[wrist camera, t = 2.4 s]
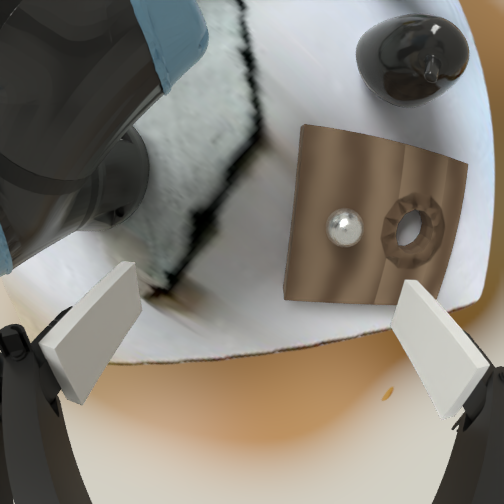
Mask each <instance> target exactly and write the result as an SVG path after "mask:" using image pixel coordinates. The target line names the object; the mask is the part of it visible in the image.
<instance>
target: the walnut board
mask: <svg viewBox="0 0 504 504" xmlns="http://www.w3.org/2000/svg"><path fill="white" fill-rule="evenodd" d="M467 170H468V164H466V163H464V162H461V161H458V160H455V159H453V158H450V157H447V156H444V155H441V154H438V153H435V152H431V151H428V150H425V149H421V148H418V147H414V146H411V145H407V144H404V143H400V142H396V141H392V140H388V139H384V138H379V137H375V136H370V135H366V134H361V133H356V132H350V131H345V130H339V129H334V128H327V127H321V126H314V125H307V124H304V125H302V126H301V130H300V142H299V153H298V164H297V175H296V185H295V194H294V204H293V213H292V222H291V230H290V239H289V247H288V255H287V263H286V270H285V278H284V285H283V292H284V300H293V301H309V302H326V303H347V304H375V305H397V304H398V301H399V297H400V294H401V291H402V288H403V284H404V281H405V280H417V281H418V282H419V283H420V284H421V285H422V286H423V287H424V288H425V289H426V290H427V291H428V292H429V293H430V294H431V295H432V296H433V298H434V299H435V300H436V299H437V296H438V293H439V290H440V287H441V284H442V281H443V278H444V275H445V272H446V269H447V266H448V262H449V259H450V255H451V252H452V248H453V244H454V240H455V236H456V232H457V228H458V223H459V219H460V214H461V209H462V203H463V198H464V192H465V185H466V178H467ZM341 208H348V209H351V210H353V211H355V212H357V213H358V214H359V216H360V217H361V219H362V221H363V224H364V232H363V235H362V237H361V239H360V240H359V242H358V243H356V244H355V245H353V246H351V247H340V246H337V245H335V244H334V243H332V242H331V240H330V239H329V238H328V236H327V233H326V222H327V219H328V217H329V216H330V215H331V214H332V213H333V212H334V211H336V210H338V209H341ZM415 209H416V210H418V211H419V213H420V216H421V220H422V225H421V230H420V234H419V235H418V236H417V238H416V239H415V240H414V242H412V243H410V244H408V245H406V246H400V245H398V243H397V240H396V231H397V226H398V223H399V222H400V220H401V219H402V218H403V216H404V215H405V214H406V213H408V212H411V211H413V210H415Z"/></svg>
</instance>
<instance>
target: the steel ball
mask: <svg viewBox="0 0 504 504" xmlns="http://www.w3.org/2000/svg"><path fill="white" fill-rule="evenodd" d="M363 232H364V224H363V221H362V219H361V217H360V216H359V214H358V213H357V212H355V211H353V210H351V209H348V208H341V209H338V210H336V211H334V212H333V213H332V214H331V215H330V216H329V217H328V219H327V222H326V233H327V236H328V238H329V239H330V240H331V242H332V243H334V244H335V245H337V246H340V247H351V246H353V245H355V244H356V243H358V242H359V240H360V239H361V237H362V235H363Z"/></svg>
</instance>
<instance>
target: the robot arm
mask: <svg viewBox="0 0 504 504" xmlns="http://www.w3.org/2000/svg"><path fill="white" fill-rule="evenodd" d="M208 40H209V36H208V29H207V26H206V22H205V19H204V17H203V14H202V12H201V10H200V8H199V5H198V4H197V2H196V0H0V277H1V276H3V275H5V274H10V273H11V272H12V270H13V269H14V268H15V267H17V266H19V265H20V264H22V263H23V262H25V261H26V260H28V259H29V258H31V257H33V256H34V255H36V254H37V253H39V252H41V251H42V250H44V249H46V248H47V247H49V246H51V245H52V244H54V243H56V242H57V241H59V240H61V239H63V238H64V237H66V236H68V235H70V234H71V233H73V232H75V231H103V230H107V229H110V228H112V227H114V226H116V225H118V224H119V223H121V222H123V221H124V220H126V219H127V218H128V217H130V216H131V215H132V214H133V213H134V211H135V210H136V209H137V207H138V206H139V204H140V203H141V201H142V199H143V196H144V194H145V191H146V187H147V183H148V176H149V163H148V156H147V152H146V148H145V145H144V143H143V141H142V139H141V137H140V135H139V134H138V132H137V131H136V130H135V129H134V127H133V126H132V125H133V124H134V123H135V122H136V121H137V120H138V119H139V118H140V117H141V116H142V115H143V114H144V113H145V112H146V111H147V110H148V109H149V108H150V107H151V106H152V105H153V104H154V103H155V102H156V101H157V100H158V99H159V98H160V97H161V96H163V95H167V94H168V93H169V92H170V90H171V87H172V85H173V84H174V83H175V82H176V81H177V80H178V79H179V78H180V77H181V76H182V75H183V74H184V73H185V72H187V71H188V70H189V69H190V68H191V67H192V66H193V65H194V64H195V63H197V62H198V61H199V60H200V59H201V58H202V56H203V55H204V53H205V51H206V49H207V46H208ZM141 312H142V307H141V300H140V294H139V287H138V280H137V272H136V264H135V262H126V261H121V262H120V263H119V264H118V265H117V266H116V267H115V268H114V269H113V270H111V271H110V272H109V273H108V274H107V275H106V276H105V277H104V278H103V279H102V280H101V281H99V282H98V283H97V284H96V285H95V286H94V287H93V288H92V289H91V290H90V291H89V292H88V293H87V294H86V295H85V296H84V297H83V298H82V299H81V300H80V301H79V302H78V303H76V304H75V305H74V306H73V307H72V306H71V307H69V308H67V309H66V310H64V311H62V312H61V313H60V314H59V315H58V316H57V317H56V318H55V319H54V320H53V321H52V322H51V323H50V324H49V326H47V327H46V328H45V329H44V330H43V331H42V332H41V333H40V334H39V335H38V336H37V337H36V338H35V339H34V340H33V341H32V343H30V341H29V339H28V336H27V334H26V331H25V329H24V327H23V326H22V325H19V324H11V325H8V326H5V327H4V328H2V329H1V330H0V350H1V352H2V353H1V352H0V504H13V499H14V502H15V504H92V502H91V500H90V497H89V495H88V493H87V490H86V488H85V485H84V483H83V480H82V478H81V475H80V472H79V469H78V466H77V463H76V460H75V457H74V455H73V451H72V448H71V444H70V441H69V437H68V434H67V430H66V425H65V421H64V417H63V412H62V408H61V403H60V400H59V397H58V396H57V394H58V393H59V391H60V390H62V391H63V393H64V395H65V397H66V398H67V400H70V401H72V402H75V403H77V404H80V405H83V404H84V402H85V400H86V399H87V397H88V395H89V394H90V392H91V390H92V388H93V387H94V385H95V383H96V382H97V380H98V379H99V377H100V375H101V374H102V372H103V370H104V369H105V367H106V366H107V364H108V362H109V361H110V359H111V358H112V356H113V355H114V353H115V351H116V350H117V348H118V347H119V345H120V344H121V342H122V341H123V339H124V337H125V336H126V334H127V333H128V331H129V330H130V328H131V327H132V325H133V324H134V322H135V321H136V319H137V318H138V316H139V315H140V313H141ZM390 326H391V328H392V329H393V331H394V333H395V334H396V336H397V338H398V339H399V341H400V343H401V345H402V346H403V348H404V350H405V352H406V354H407V355H408V357H409V359H410V361H411V362H412V364H413V366H414V368H415V370H416V372H417V373H418V375H419V377H420V379H421V381H422V383H423V385H424V387H425V389H426V391H427V392H428V395H429V397H430V398H431V400H432V403H433V405H434V407H435V409H436V411H437V413H438V415H439V417H440V419H441V420H444V419H447V418H450V417H453V416H455V415H456V414H457V412H458V411H459V410H460V409H461V407H462V406H463V407H464V409H465V412H464V413H463V415H462V416H461V417H460V418H459V420H458V421H457V422H456V423H455V425H454V426H453V427H452V430H454V429H455V428H456V426H457V425H459V428H458V430H457V436H456V439H455V443H454V446H453V450H452V453H451V456H450V459H449V462H448V465H447V468H446V471H445V474H444V476H443V479H442V481H441V484H440V486H439V489H438V491H437V494H436V496H435V498H434V500H433V502H432V504H504V367H502V366H500V367H497V368H495V367H494V365H493V364H492V363H491V361H490V360H489V359H488V358H487V356H486V355H485V354H484V352H483V351H482V350H481V349H480V348H479V346H478V345H477V344H476V343H474V340H473V339H472V338H471V336H470V335H469V334H468V333H466V332H465V331H464V330H462V329H461V328H460V327H459V326H458V324H457V323H456V322H455V321H454V320H453V319H452V318H451V317H450V315H449V314H448V313H447V312H446V311H445V310H444V308H443V307H442V306H441V305H440V304H439V303H438V302H437V301H436V300H435V299H434V298H433V296H432V295H431V294H430V293H429V292H428V291H427V290H426V289H425V288H424V287H423V286H422V285H421V284H420V283H419V282H418V281H417V280H405V281H404V284H403V288H402V291H401V294H400V297H399V301H398V304H397V307H396V310H395V313H394V316H393V319H392V322H391V324H390Z"/></svg>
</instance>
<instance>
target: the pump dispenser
mask: <svg viewBox="0 0 504 504" xmlns="http://www.w3.org/2000/svg"><path fill="white" fill-rule="evenodd" d="M356 60H357V65H358V70H359V72H360V75H361V77H362V79H363V81H364V82H365V84H366V85H367V86H368V87H369V88H370V89H371V90H372V91H373V92H374V93H375V94H376V95H377V96H379V97H380V98H382V99H384V100H385V101H387V102H389V103H391V104H393V105H396V106H399V107H404V108H413V107H418V106H422V105H425V104H427V103H429V102H431V101H433V100H435V99H436V98H438V97H440V96H441V95H442V94H444V93H445V92H446V91H447V90H449V89H450V88H451V87H452V86H453V85H454V84H455V83H456V82H457V81H458V80H459V79H460V77H461V76H462V75H463V73H464V71H465V69H466V67H467V64H468V60H469V47H468V43H467V41H466V39H465V37H464V35H463V34H462V32H461V31H460V30H459V29H458V28H457V27H456V26H455V25H454V24H453V23H451V22H450V21H448V20H446V19H444V18H442V17H439V16H436V15H431V14H424V13H415V14H406V15H401V16H397V17H394V18H390V19H388V20H385V21H383V22H381V23H379V24H377V25H375V26H373V27H372V28H370V29H369V30H367V31H366V32H365V33H364V34H363V35H362V37H361V38H360V40H359V41H358V44H357V48H356Z"/></svg>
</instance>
